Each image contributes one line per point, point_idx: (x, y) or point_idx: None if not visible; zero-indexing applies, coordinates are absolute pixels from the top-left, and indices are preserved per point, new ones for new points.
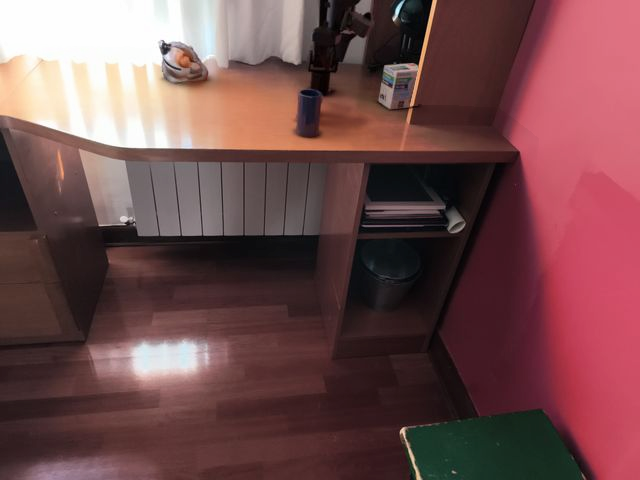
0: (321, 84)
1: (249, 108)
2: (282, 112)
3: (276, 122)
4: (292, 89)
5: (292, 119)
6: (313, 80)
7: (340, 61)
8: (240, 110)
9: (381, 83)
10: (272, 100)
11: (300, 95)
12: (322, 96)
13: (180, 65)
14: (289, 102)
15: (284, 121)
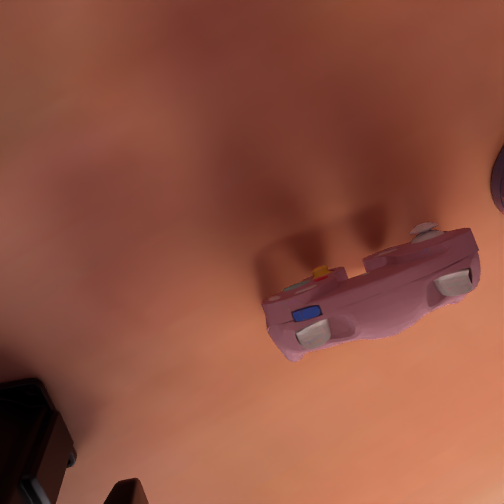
0: (24, 445)
1: (421, 461)
2: (383, 373)
3: (498, 327)
4: None
5: None
6: (54, 490)
7: (141, 499)
8: (456, 465)
9: None
10: (289, 466)
11: None
12: (290, 312)
13: None
14: (258, 420)
15: (471, 313)
